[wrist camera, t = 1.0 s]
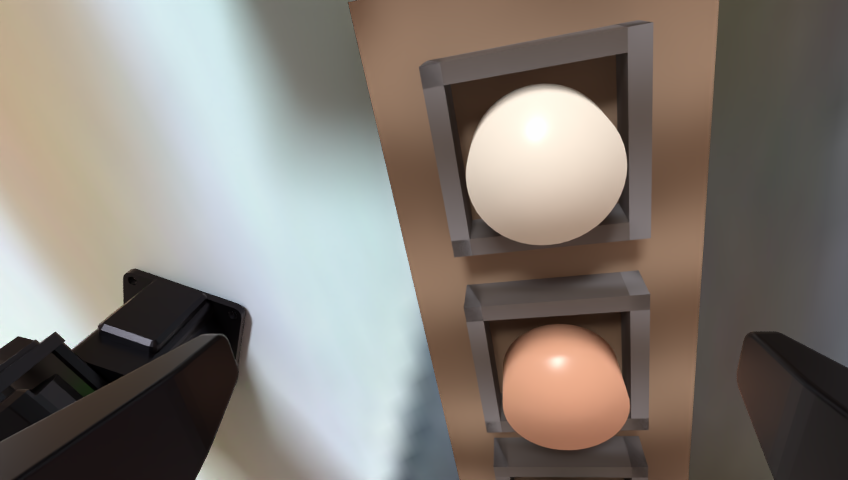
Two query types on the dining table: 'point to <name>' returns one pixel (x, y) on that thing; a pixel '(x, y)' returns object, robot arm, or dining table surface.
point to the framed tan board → (565, 262)
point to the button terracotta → (563, 388)
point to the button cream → (545, 165)
